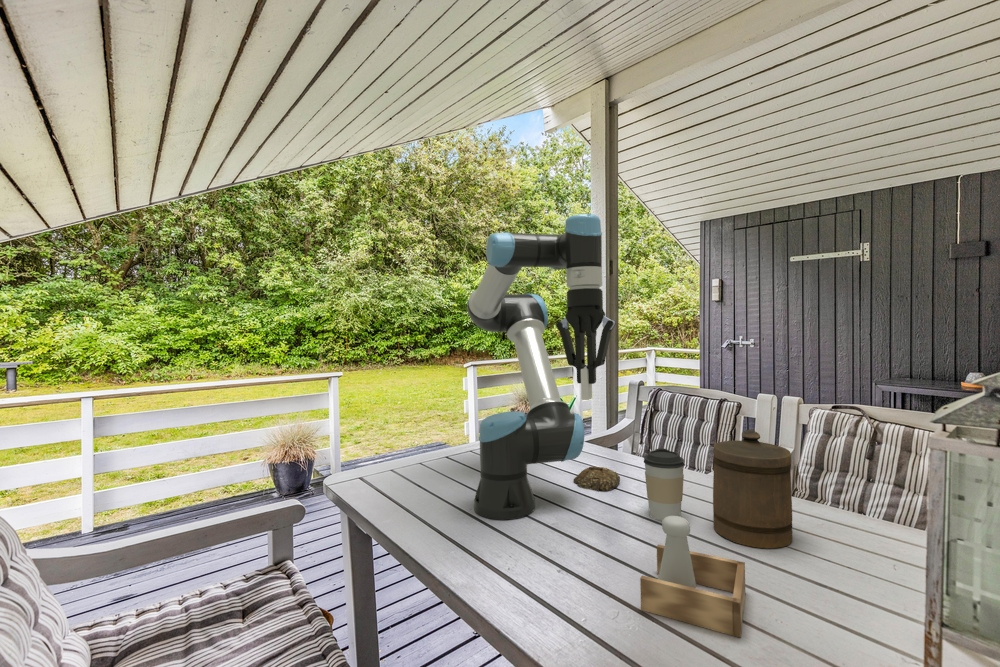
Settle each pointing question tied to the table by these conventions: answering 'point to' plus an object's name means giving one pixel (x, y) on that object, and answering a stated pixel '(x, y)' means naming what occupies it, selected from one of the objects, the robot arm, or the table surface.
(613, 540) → the table surface
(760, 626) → the table surface
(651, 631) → the table surface
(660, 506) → the coffee cup
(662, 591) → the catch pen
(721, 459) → the wooden container
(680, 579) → the salt shaker
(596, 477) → the bread roll
